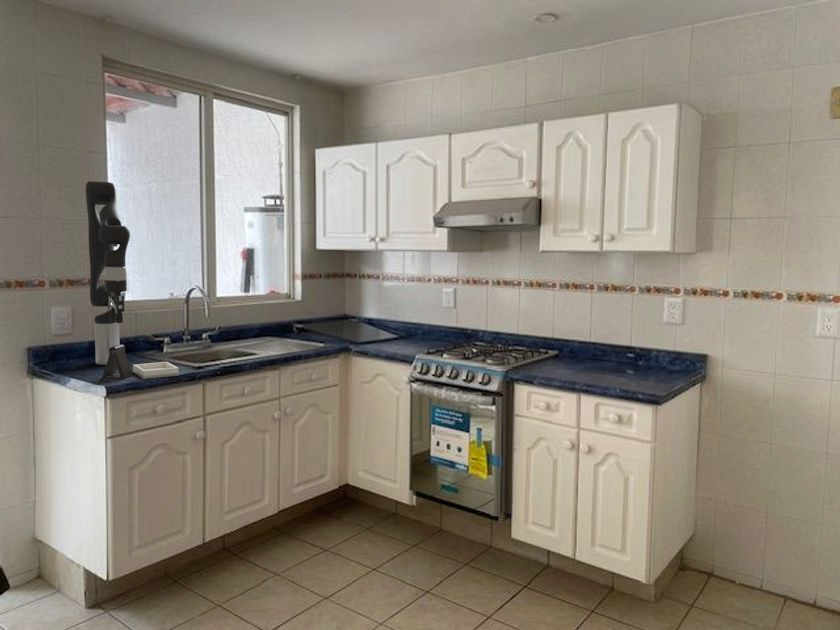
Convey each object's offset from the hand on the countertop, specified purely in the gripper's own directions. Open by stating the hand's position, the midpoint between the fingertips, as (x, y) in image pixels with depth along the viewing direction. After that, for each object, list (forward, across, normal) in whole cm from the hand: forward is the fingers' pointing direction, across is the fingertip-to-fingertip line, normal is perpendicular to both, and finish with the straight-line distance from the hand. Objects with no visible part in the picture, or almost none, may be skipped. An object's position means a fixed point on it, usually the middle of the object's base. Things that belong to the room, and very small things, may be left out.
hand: (116, 321), depth 242 cm
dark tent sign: (+21, 0, 0) cm, 21 cm away
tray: (+21, +2, +14) cm, 25 cm away
